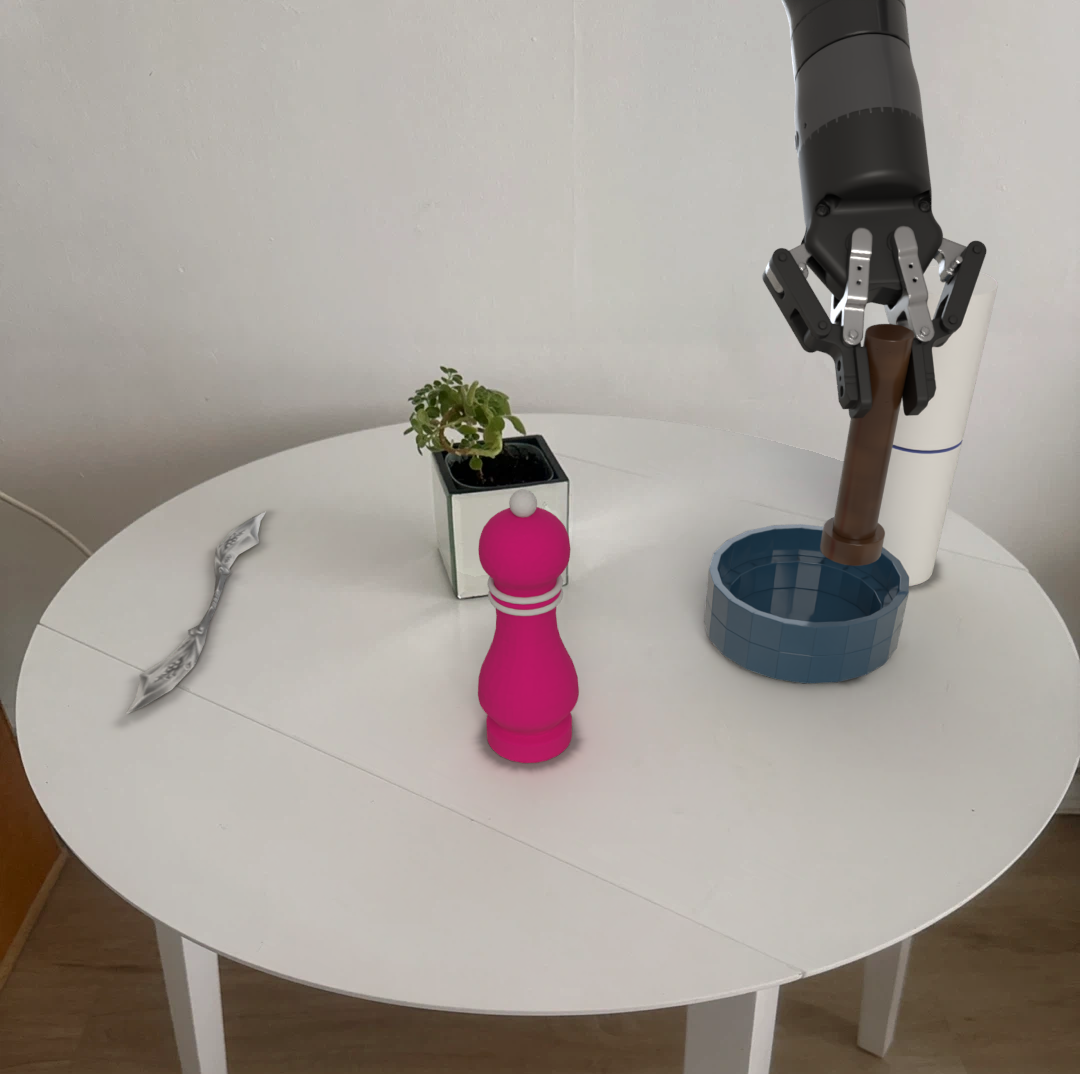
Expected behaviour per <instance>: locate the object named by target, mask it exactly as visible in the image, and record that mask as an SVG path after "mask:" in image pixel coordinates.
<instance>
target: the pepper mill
mask: <svg viewBox="0 0 1080 1074" xmlns="http://www.w3.org/2000/svg"><path fill="white" fill-rule="evenodd" d="M508 504H509V505H508V506H509V507H508V508H505V509H502V510H501V511H498V512H497V513H495V514H494V515H492V516H491V517H490V518H489V519H488V521H487V522H486V523H485V525H484V526H483V528H482V530H481V533H480V535H479V540H478V560H479V562H480V565H481V568H482V570H483V571H484V572H485V573H486V575H488V578H487V579H488V580H487V588H488V593H487V597H488V600H489V603H490V604H491V605H492V607H494V608H495V614H496V615H495V616H496V617H495V629H494V633H493V638H492V641H491V643H490V646H489V649H488V650H487V653H486V655H485V656H484V659H483V662H482V664H481V666H480V671H479V674H478V680H477V698H478V702H479V705H480V707H481V709H482V710H483V712H484V713H485V714H486V719H485V721H486V722H485V723H486V740H487V744H488V745H489V747H490V748H491V749H492V750H493V751H494V752H495V754H497V755H498V756H500V757H502V758H504V759H506V760H509V761H510V762H516V763H522V764H536V763H541V762H546V761H547V762H548V761H549V760H551V759H553V758H556V757H558V756H559V755H561V754H562V753H563V752H564V751H565V750H567V748H568V747H569V745H570V743H571V741H572V739H573V716H572V712H573V710H574V709H575V707H576V705H577V702H578V701H579V695H580V687H579V677H578V674H577V670H576V667H575V663H574V662H573V659H572V657H571V656H570V654H569V652H568V650H567V648H566V646H565V644H564V642H563V640H562V638H561V637H562V636H561V634H560V631H559V627H558V619H557V618H558V617H557V606H559V605H560V603H561V602H562V600H563V597H564V591H563V585H564V579H563V577H562V574H563V573H564V571H565V570H566V569H567V567H568V566H569V562H570V558H571V542H570V536H569V533H568V531H567V528H566V526H565V524H564V523H563V522H562V520H560V518H558V517H557V516H556V515H555V514H554V513H552V512H551V511H549V510H547V509H545V508H542V507H539V506H538V501H537V496H536V495H535V494H534V493H533V492H532V491H531V490H529V489H526V488H525V489H523V488H522V489H521V488H520V489H518V490H516V491H515V492H513V493H512V494H511V496H510V498H509V502H508Z"/></svg>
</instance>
